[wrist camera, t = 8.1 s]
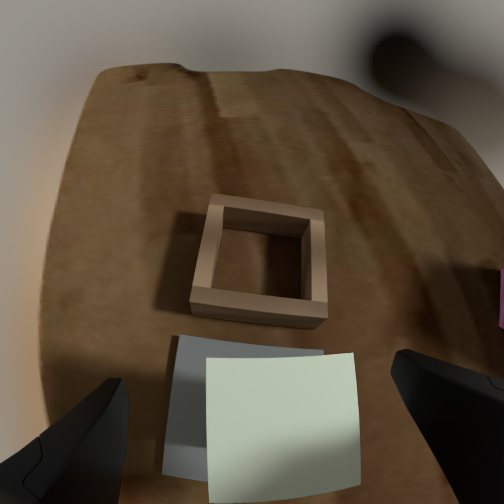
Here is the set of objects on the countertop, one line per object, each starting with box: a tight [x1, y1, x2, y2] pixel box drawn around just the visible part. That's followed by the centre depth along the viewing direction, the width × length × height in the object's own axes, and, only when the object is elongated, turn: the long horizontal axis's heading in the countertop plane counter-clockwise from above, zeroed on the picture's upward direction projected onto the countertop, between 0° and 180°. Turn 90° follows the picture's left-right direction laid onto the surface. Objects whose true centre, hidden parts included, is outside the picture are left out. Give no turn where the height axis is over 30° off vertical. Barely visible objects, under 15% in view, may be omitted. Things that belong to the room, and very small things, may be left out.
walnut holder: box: [189, 193, 328, 329], centre depth 19 cm, size 8×8×2 cm
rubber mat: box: [162, 334, 324, 482], centre depth 15 cm, size 9×9×1 cm
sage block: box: [206, 353, 361, 503], centre depth 10 cm, size 4×4×10 cm
